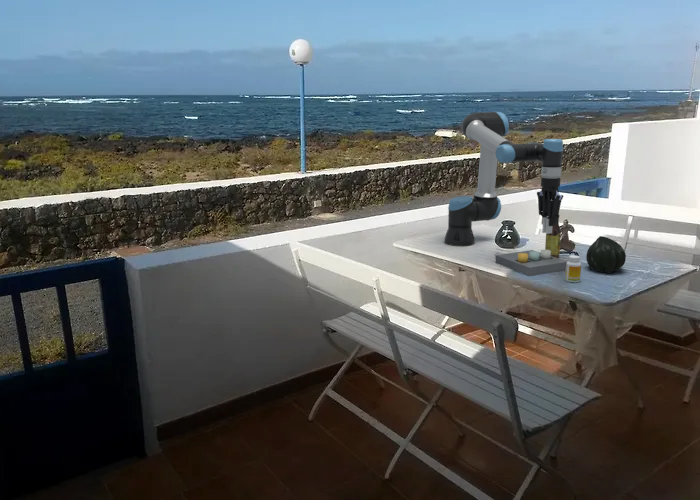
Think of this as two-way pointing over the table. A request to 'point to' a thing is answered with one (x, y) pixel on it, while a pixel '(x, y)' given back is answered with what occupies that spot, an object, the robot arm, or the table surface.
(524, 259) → the amber button
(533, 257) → the teal button
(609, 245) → the squash
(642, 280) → the table surface
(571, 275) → the supplement bottle
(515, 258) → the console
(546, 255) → the ivory button
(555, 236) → the sauce bottle
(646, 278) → the table surface
